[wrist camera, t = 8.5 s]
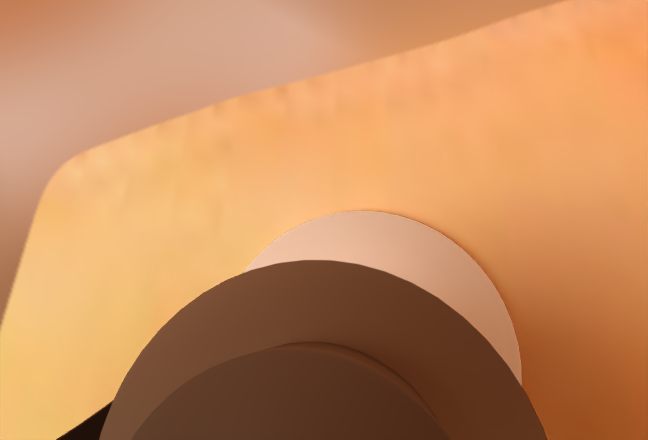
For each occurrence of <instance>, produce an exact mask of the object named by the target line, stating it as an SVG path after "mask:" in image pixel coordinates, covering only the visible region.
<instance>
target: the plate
mask: <svg viewBox="0 0 648 440" xmlns="http://www.w3.org/2000/svg"><path fill="white" fill-rule="evenodd" d="M299 260H333V261H340V262H348V263H355V264H360V265H364V266H367V267H371V268H375V269H378V270H382V271H385V272H388V273H390V274H393V275H395V276H397V277H400V278H402V279H404V280H407V281H409V282H412V283H414V284H415V285H417V286H419V287H420V288H422V289H424V290H426V291H427V292H429V293H431V294H433V295H434V296H436V297H438V298H439V299H441V300H442V301H443V302H445V303H446V304H447V305H449V306H450V307H451V308H453V309H454V310H455V311H456V312H458V313H459V314H460V315H462V316H463V317H464V318H465V319H466V320H467V321H468V322H469V323H470V324H471V325H472V326H474V327H475V328H476V329H477V330H478V331H479V332H480V333H481V334H482V335H483V336H484V337H485V338H486V339H487V340H488V341H489V343H490V344H491V345H492V346H493V348H494V349H495V350H496V351H497V352H498V354H499V355H500V356H501V357H502V359H503V360H504V361H505V362H506V363H507V365H508V366H509V368H510V369H511V371H512V372H513V374H514V375H515V377H516V379H517V380H518V382H519V383H520V385H521V386H522V365H521V358H520V352H519V345H518V341H517V337H516V333H515V330H514V326H513V323H512V320H511V318H510V315H509V313H508V311H507V308H506V306H505V304H504V302H503V300H502V298H501V296H500V295H499V293H498V291H497V289H496V288H495V286H494V284H493V283H492V281H491V280H490V279H489V277H488V276H487V275H486V273H485V272H484V271H483V269H482V268H481V267H480V266H479V265H478V264H477V263H476V262H475V261H474V260H473V259H472V258H471V256H470V255H469V254H468V253H467V252H465V251H464V250H463V249H462V248H461V247H459V246H458V245H457V244H456V243H454V242H453V241H452V240H451V239H449V238H447V237H446V236H444V235H443V234H441V233H439V232H438V231H436V230H435V229H433V228H430V227H428V226H426V225H424V224H422V223H420V222H418V221H415V220H412V219H409V218H405V217H402V216H399V215H394V214H389V213H384V212H376V211H348V212H340V213H335V214H329V215H325V216H322V217H319V218H316V219H313V220H310V221H307V222H305V223H303V224H301V225H299V226H296V227H294V228H292V229H291V230H289V231H287V232H286V233H284V234H283V235H281V236H280V237H278V238H277V239H275V240H274V241H273V242H272V243H271V244H269V245H268V246H267V247H266V248H264V249H263V250H262V251H261V252H260V253H259V254H258V255H257V257H256V258H255V259H254V260H253V261H252V262H251V263H250V264H249V265H248V267H247V268H246V270H245V271H244V272H243V273H245V272H248V271H250V270H253V269H257V268H261V267H265V266H269V265H272V264H276V263H283V262H291V261H299Z"/></svg>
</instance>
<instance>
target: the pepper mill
mask: <svg viewBox="0 0 648 440" xmlns="http://www.w3.org/2000/svg"><path fill="white" fill-rule="evenodd" d="M99 440H547V438H546V435H545V432H544V430H543V427H542V425H541V423H540V421H539V419H538V417H537V415H536V413H535V410H534V408H533V406H532V404H531V402H530V400H529V398H528V396H527V394H526V393H525V391H524V389H523V388H522V386H521V385H520V383H519V382H518V380H517V379H516V377H515V375H514V374H513V372H512V371H511V369H510V368H509V366H508V365H507V363H506V362H505V361H504V360H503V359H502V357H501V356H500V355H499V354H498V352H497V351H496V350H495V349H494V348H493V346H492V345H491V344H490V343H489V341H488V340H487V339H486V338H485V337H484V336H483V335H482V334H481V333H480V332H479V331H478V330H477V329H476V328H475V327H474V326H472V325H471V324H470V323H469V322H468V321H467V320H466V319H465V318H464V317H463V316H462V315H460V314H459V313H458V312H456V311H455V310H454V309H453V308H451V307H450V306H449V305H447V304H446V303H445V302H443V301H442V300H441V299H439V298H438V297H436V296H434V295H433V294H431V293H429V292H427V291H426V290H424V289H422V288H420V287H419V286H417V285H415V284H414V283H412V282H409V281H407V280H404V279H402V278H400V277H397V276H395V275H393V274H390V273H388V272H385V271H382V270H378V269H375V268H371V267H367V266H364V265H360V264H355V263H348V262H340V261H333V260H299V261H291V262H283V263H276V264H272V265H269V266H265V267H261V268H257V269H253V270H250V271H248V272H245V273H243V274H240V275H238V276H235V277H233V278H230V279H228V280H226V281H224V282H222V283H220V284H219V285H217V286H215V287H213V288H211V289H210V290H208V291H206V292H204V293H203V294H201V295H200V296H199V297H197V298H196V299H195V300H193V301H192V302H190V303H189V304H188V305H186V306H185V307H184V308H182V309H181V310H180V311H179V312H178V313H177V314H176V315H175V316H174V317H172V318H171V319H170V320H169V321H168V322H167V323H166V324H165V325H164V326H163V327H162V328H161V329H160V330H159V331H158V332H157V334H156V335H155V336H154V337H153V338H152V340H151V341H150V342H149V343H148V344H147V346H146V347H145V348H144V349H143V350H142V352H141V353H140V355H139V356H138V358H137V359H136V361H135V363H134V364H133V366H132V367H131V369H130V370H129V372H128V373H127V375H126V377H125V378H124V380H123V382H122V384H121V386H120V388H119V390H118V392H117V394H116V396H115V398H114V400H113V402H112V405H111V407H110V410H109V413H108V415H107V418H106V421H105V423H104V426H103V429H102V431H101V435H100V439H99Z"/></svg>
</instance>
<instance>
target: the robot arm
mask: <svg viewBox="0 0 648 440" xmlns="http://www.w3.org/2000/svg"><path fill="white" fill-rule="evenodd" d="M112 402H113V401H112ZM112 402H110V403H109V404H107V405H106V406H105V407H103V408H102V409H101V410H99V411H98V412H96V413H95V414H93V415H92V416H91V417H89V418H88V419H86V420H85V421H84V422H82V423H81V424H79V425H78V426H76V427H75V428H73V429H72V430H70V431H69V432H67V433H65V434H64V435H62V436H61V437H59V438H58V439H56V440H99V439H100V435H101V431H102V429H103V426H104V423H105V421H106V418H107V415H108V413H109V410H110V407H111V405H112Z"/></svg>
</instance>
